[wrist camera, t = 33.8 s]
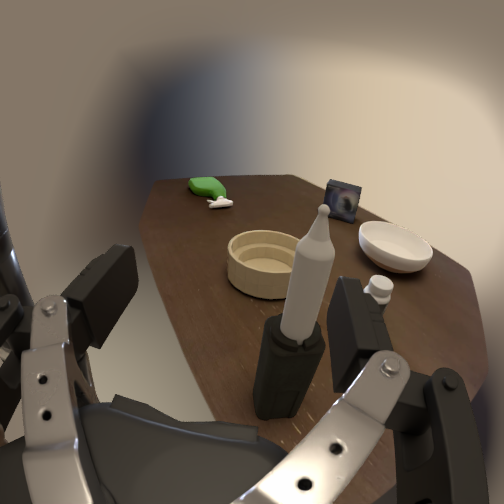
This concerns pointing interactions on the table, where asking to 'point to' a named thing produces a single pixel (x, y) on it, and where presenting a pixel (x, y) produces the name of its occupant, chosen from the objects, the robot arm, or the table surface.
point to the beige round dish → (261, 263)
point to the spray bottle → (210, 191)
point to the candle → (295, 328)
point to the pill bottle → (380, 290)
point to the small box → (342, 200)
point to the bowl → (394, 247)
